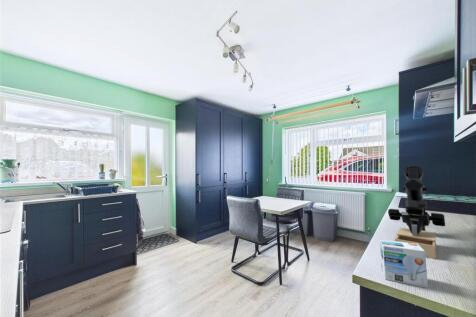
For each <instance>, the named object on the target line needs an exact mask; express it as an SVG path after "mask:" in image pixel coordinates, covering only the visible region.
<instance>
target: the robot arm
mask: <svg viewBox="0 0 476 317" xmlns="http://www.w3.org/2000/svg"><path fill="white" fill-rule="evenodd" d="M403 174H404V176H405V178H406V180H405V184H403V191H404V192H405V193H406V194H405V195H406V200H405V211H401V212H400V209H398V208H397V209H396V208H395V209H394V208H389V209H388V210H387V214H388V217H389V219H390V220H393V221H400V220H402V222H403V223H404V224H406V226H407V227H408V229H410V232H411V233H412V224H415V225H417V234H419V233H420V232H421V230H422V231H427V230H426V227H428V226H430V224H431V223H432V224H433V225H434V226H439V227H445V226H446V221H445V220H446V218H445V215H444V213H437V212H430V214H429V213H428V211H426V209H427V207H428V206H427V200H425V199H424V196H423V195H424V193H426V191H427V190H428V189H427V187H426V186H425V185H424V184H423V182H422V181H423V177H424V167H421V166H419V165H407V166H406V167H404V168H403Z"/></svg>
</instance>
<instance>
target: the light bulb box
mask: <svg viewBox="0 0 476 317" xmlns="http://www.w3.org/2000/svg"><path fill="white" fill-rule="evenodd" d="M379 246H380V247H379V248H380V261H381V262H380V264H381V272H382V274H383V277H384V279H385V280H386V281H392V282H398V283H402V284H407V285H411V286H416V287H422V288H426V289H428V288H429V286H428V284H429V283H428V272H427V271H428V269H427V259H426V258H427V257H426V254H425V251H424V250H423V249H422V248H421V247H420V246H419V245H418V244H415V243H406V242H397V241H395V240H387V239H379Z"/></svg>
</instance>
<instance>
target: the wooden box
mask: <svg viewBox="0 0 476 317" xmlns="http://www.w3.org/2000/svg"><path fill="white" fill-rule="evenodd" d="M394 241H397V242H406V243H415V244H418V245H419V246H420V247H421V248H422V249H423V250H424V251H425V254H426V258H429V259H434V260H436V259H437V242H436V241H437V240H436V241H430V240H424V239H418V238H413V237H407V236H401V235H397V234H396V237H395V240H394Z"/></svg>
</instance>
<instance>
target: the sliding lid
mask: <svg viewBox="0 0 476 317" xmlns="http://www.w3.org/2000/svg"><path fill="white" fill-rule="evenodd" d="M397 235H401V236H407V237H413V238H418V239H424V240H430V241H437V232H436V231H435V232H433V231H428V230H426V231H422V230H421V232H420V233H419V234H417V225H415V224H412V233H411V232H410V229H409V227H408V228H407V227H400V228H399V229H398V231H397V232H396V236H397Z"/></svg>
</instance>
